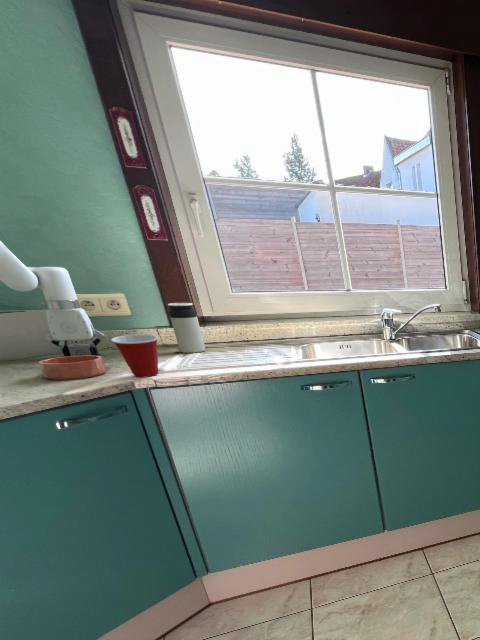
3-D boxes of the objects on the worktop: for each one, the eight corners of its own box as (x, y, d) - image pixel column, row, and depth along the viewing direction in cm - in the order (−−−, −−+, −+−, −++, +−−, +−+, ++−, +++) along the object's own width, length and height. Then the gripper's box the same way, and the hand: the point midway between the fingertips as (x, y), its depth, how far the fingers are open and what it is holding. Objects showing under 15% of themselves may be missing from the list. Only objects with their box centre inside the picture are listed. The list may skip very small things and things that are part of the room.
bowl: (37, 382, 144) (30, 365, 142) (55, 372, 155) (49, 356, 153) (99, 378, 150) (93, 362, 148) (112, 369, 161) (107, 354, 159)
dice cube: (73, 359, 173) (68, 344, 171) (93, 357, 176) (88, 343, 174) (73, 361, 169) (67, 347, 168) (93, 359, 173) (88, 345, 171)
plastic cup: (126, 381, 148) (112, 341, 144) (121, 374, 155) (108, 336, 150) (171, 375, 156) (160, 337, 151) (165, 370, 162) (154, 333, 158)
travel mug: (208, 351, 192) (196, 304, 186) (183, 354, 186) (169, 305, 180) (202, 348, 197) (189, 302, 190) (177, 351, 191) (163, 303, 184)
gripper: (23, 307, 159) (44, 362, 166) (94, 306, 167) (112, 358, 174) (33, 304, 165) (53, 358, 172) (101, 304, 173) (118, 355, 180)
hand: (82, 357), depth 173 cm, fingers closed on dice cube, 5 cm apart
